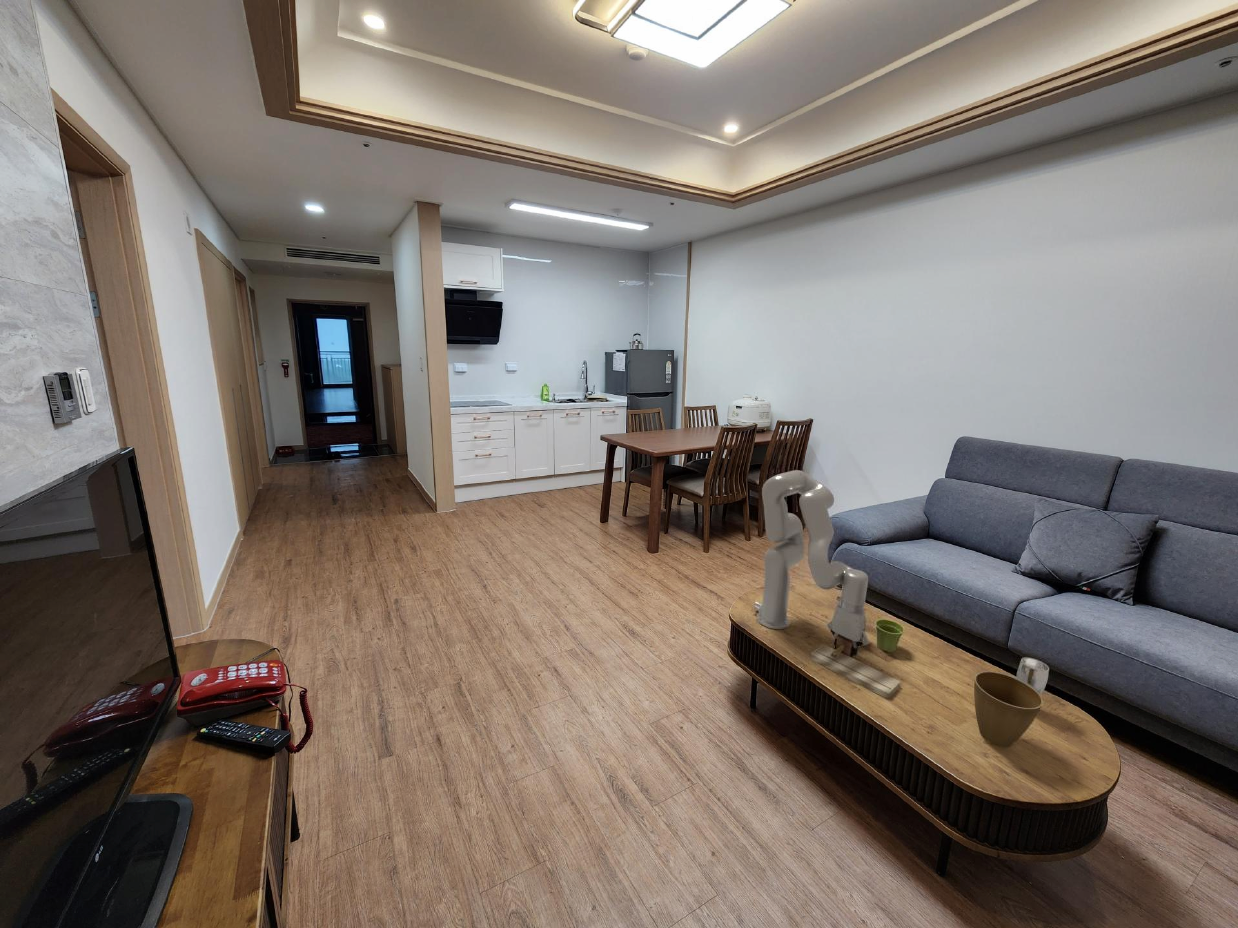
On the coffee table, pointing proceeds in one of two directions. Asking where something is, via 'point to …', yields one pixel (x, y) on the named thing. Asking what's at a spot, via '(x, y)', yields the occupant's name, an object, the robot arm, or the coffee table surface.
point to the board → (856, 671)
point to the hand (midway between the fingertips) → (844, 651)
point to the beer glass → (1033, 673)
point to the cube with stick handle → (842, 646)
